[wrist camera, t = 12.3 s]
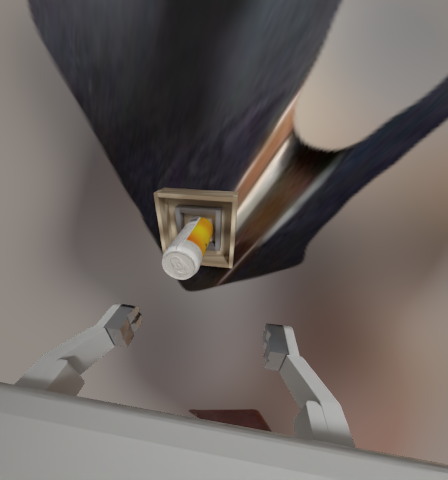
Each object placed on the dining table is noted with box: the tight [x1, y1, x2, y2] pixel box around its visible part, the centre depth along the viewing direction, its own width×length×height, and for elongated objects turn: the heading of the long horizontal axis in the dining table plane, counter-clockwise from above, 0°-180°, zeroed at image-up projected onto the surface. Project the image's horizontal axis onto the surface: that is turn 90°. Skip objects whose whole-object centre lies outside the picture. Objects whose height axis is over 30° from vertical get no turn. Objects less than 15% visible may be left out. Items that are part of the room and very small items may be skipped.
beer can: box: [162, 216, 213, 280], centre depth 33 cm, size 6×6×15 cm
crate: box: [154, 188, 238, 268], centre depth 37 cm, size 16×16×5 cm
